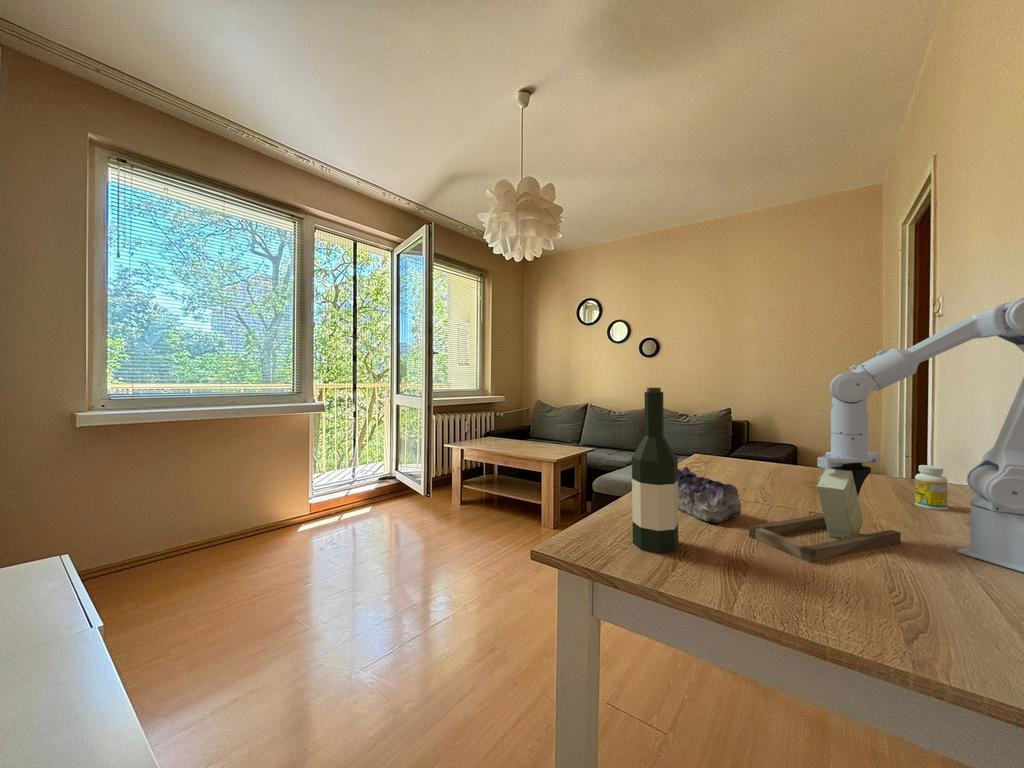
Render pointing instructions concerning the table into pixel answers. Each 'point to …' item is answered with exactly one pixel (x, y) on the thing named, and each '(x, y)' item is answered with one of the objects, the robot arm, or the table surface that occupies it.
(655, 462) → the wine bottle
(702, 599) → the table surface
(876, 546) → the cradle
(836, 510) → the skincare box
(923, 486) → the supplement bottle
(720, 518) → the geode
